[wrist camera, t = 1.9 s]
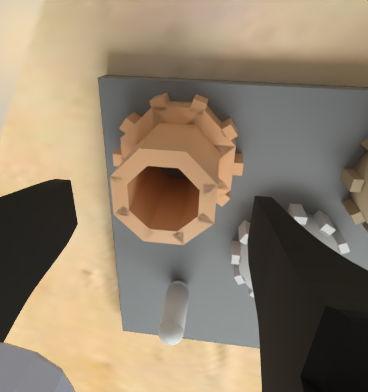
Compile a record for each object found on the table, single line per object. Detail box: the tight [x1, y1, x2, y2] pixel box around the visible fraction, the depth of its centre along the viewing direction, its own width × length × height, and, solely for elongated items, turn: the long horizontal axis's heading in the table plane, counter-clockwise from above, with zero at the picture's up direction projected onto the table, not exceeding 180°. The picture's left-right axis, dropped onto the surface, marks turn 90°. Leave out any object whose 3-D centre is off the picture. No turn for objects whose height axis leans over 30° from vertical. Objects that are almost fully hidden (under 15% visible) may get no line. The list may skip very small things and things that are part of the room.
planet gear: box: [110, 93, 244, 245], centre depth 15 cm, size 7×7×6 cm
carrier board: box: [98, 75, 368, 348], centre depth 18 cm, size 21×20×7 cm
